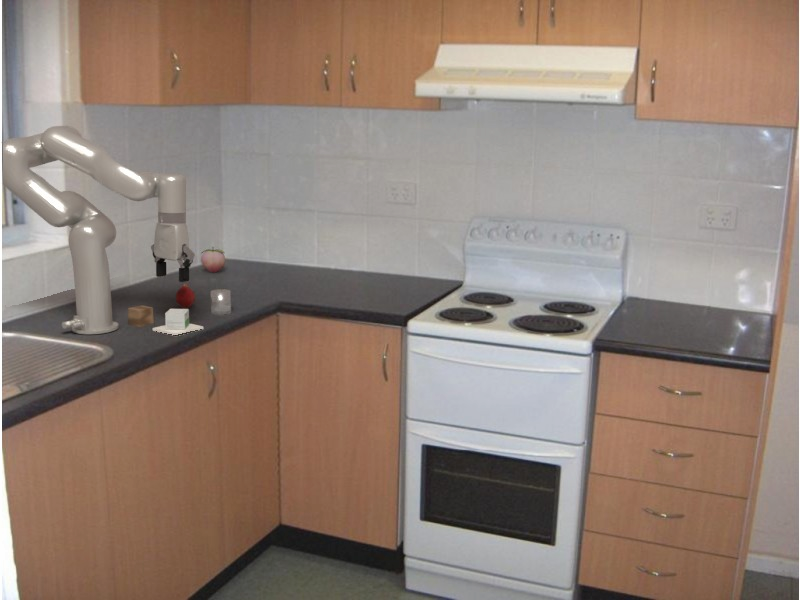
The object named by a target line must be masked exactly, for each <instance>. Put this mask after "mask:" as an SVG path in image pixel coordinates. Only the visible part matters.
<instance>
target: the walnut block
mask: <svg viewBox="0 0 800 600" xmlns="http://www.w3.org/2000/svg"><path fill="white" fill-rule="evenodd" d="M127 313H128V314H127V315H128V316H127V317H128V325H129V326H132V325H133V326H132V327H137V328H143V327H147V326H151V325H154V322H155V321H154V308H153V307H152V306H148V305H147V306H146V305H137V306H132V307H127ZM150 324H151V325H150ZM146 325H147V326H146Z"/></svg>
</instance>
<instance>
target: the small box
mask: <svg viewBox="0 0 800 600" xmlns="http://www.w3.org/2000/svg"><path fill="white" fill-rule="evenodd" d="M164 317H165V318H164V319H165V325H166V329H177V330H185V329H186V327H187V326H188V325H189V323H190V309H189V308H188V309H184V308H169V309H168V310H167V311H166V312H165V313H164Z"/></svg>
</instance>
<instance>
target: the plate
mask: <svg viewBox="0 0 800 600" xmlns="http://www.w3.org/2000/svg"><path fill="white" fill-rule="evenodd" d="M200 329H202V330H204V326H202V325H198V324H194V323H190V322H189V325H188V326H187V327H186V329H185V330H177V329H166V324H164V325H160V326H155V327H152V331H153V332H156V331H157V332H156V333H160V332H162V333H161V334H164V333H167V334H166V335H168V334H172V335H171V336H173V335H178V334H182V333H186V332H190V331H195V330H198V331H201V330H200ZM195 332H196V331H195Z"/></svg>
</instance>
